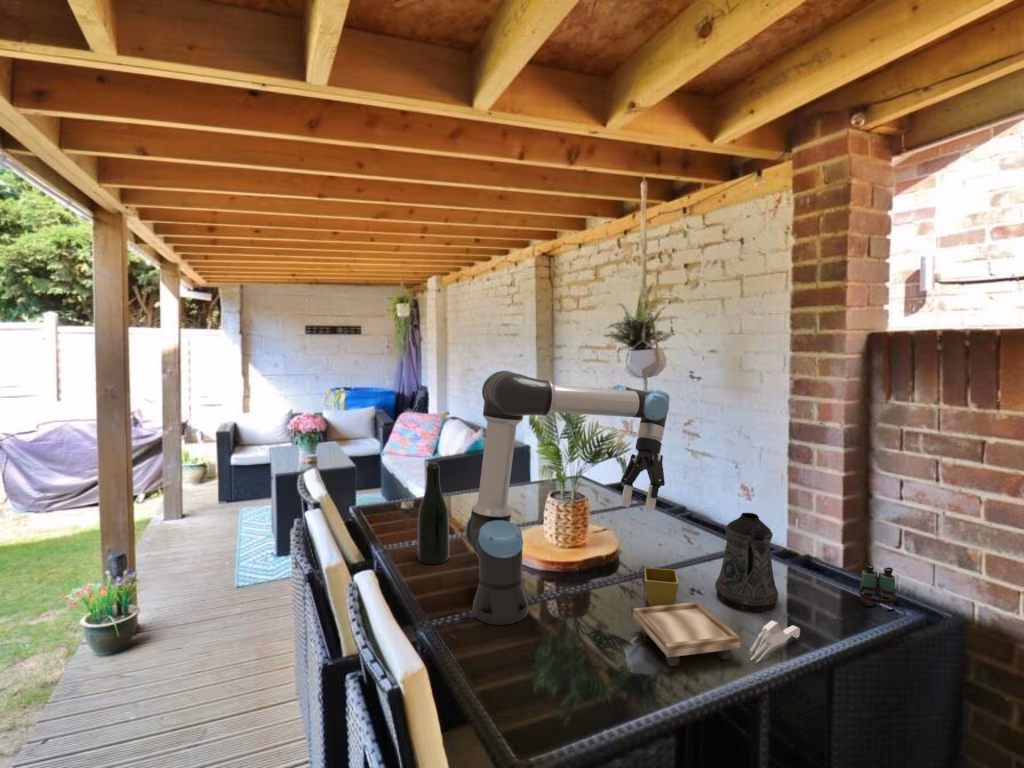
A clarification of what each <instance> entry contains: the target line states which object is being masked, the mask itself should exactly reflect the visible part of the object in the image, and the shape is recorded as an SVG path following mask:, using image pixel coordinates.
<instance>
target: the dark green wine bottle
mask: <svg viewBox="0 0 1024 768" xmlns="http://www.w3.org/2000/svg"><path fill="white" fill-rule="evenodd" d="M425 470H426V483H425V484H426V486H425V490H424V493H423V497H422V500H421V503H420V504H419V505H420V506H419V509H418V517H417V559H418V561H419V562H421V563H423V564H426V565H439V564H442V563H445V562H446V561H448V559H449V558H450V524H449V523H450V522H449V521H450V520H449V519H450V518H449V511H448V510H449V509H448V507H447V502H446V501H445V498H444V496H443V492H442V489H441V482H440V481H441V480H440V476H441V475H440V470H441V468H440V465H439V462H438V461H429V462H428V463H427V466H426V469H425Z"/></svg>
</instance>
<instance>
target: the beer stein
mask: <svg viewBox="0 0 1024 768" xmlns="http://www.w3.org/2000/svg"><path fill="white" fill-rule="evenodd" d="M724 530H725V535H726V542H725V543H726V545H725V547H724V553H723V554H724V555H723V560H722V564H721V569H720V572H719V575H718V578H717V579H716V581H715V585H714V587H715V590H716V591H715V592H716V597H717V599H718V600H719V601H720V603H722V604H723V605H725V606H726V607H728V608H731V609H734V610H736V611H740V612H745V613H750V612H752V614H764V613H768V612H767V611H769V612H772V611H773V610H774V609H775V608H776V606H777V602H778V599H779V592H778V588H777V586H776V583H775V576H774V572H773V571H774V570H773V563H772V553H771V547H770V546H771V545H770V544H771V542H772V538H773V532H772V531H771V529H770V527H768V525H767V524H765V523H764V522H763V521H762V520H761V519H760V517H759V515H758V514H756V513H753V512H742V513H741V515H740V516H738V518H736V519H733V520H731V521H730V522H728V523H727V524H726V526H725V528H724ZM772 609H773V610H772ZM771 610H772V611H771ZM763 612H764V613H763Z"/></svg>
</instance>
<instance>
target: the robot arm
mask: <svg viewBox="0 0 1024 768" xmlns="http://www.w3.org/2000/svg"><path fill="white" fill-rule="evenodd" d="M481 395H482V396H481V397H482V399H483V411H482V417H483V418H484V419H485V420H486V431H485V438H484V448H483V455H482V456H483V457H482V465H481V472H480V481H479V491H478V496H477V497H478V498H477V502H476V503H475V504H474V505H472V507H471V513H470V517H469V518H468V520H467V522H466V524H465V525H466V526H465V535H466V540H467V542H468V544H469V546H470V547H471V548H472V550H473V552H474V553H475V555H476V556H477V558H478V563H479V564H478V566H479V567H478V570H479V571H478V575H479V576H478V578H479V581H478V586H477V589H476V593H475V595H474V598H473V602H472V614H473V616H474V618H475V619H477V620H478V621H480V622H482V623H484V624H489V625H494V626H495V625H496V626H500V625H501V626H503V625H504V626H505V625H513V624H515V622H516V623H518V622H521V621H523V620H524V619H525V618H526V617H527V616H528V615H527V614H529V601H528V598H527V595H526V591H525V589H524V584H523V546H524V538H523V533H522V529H521V528H520V527H519V526H518V524H515V523H514V522H511V517H512V510H511V509H510V507H508V501H509V492H510V485H511V484H510V483H511V474H512V467H513V466H512V465H513V459H514V449H515V443H516V441H515V440H516V435H517V425H518V424H520V423H521V422H522V421H523V418H524V416H542V417H543V416H545V417H546V416H549V415H550V413H559V414H560V413H561V414H572V415H573V414H575V415H592V416H607V417H608V416H610V417H622V418H623V417H624V418H640V423H639V425H638V426H639V427H638V431H637V436H638V437H637V438H636V443H635V450H636V451H637V455H636V454H633V453H632V454H631V455H630V459H629V461H628V464H627V466H626V468H625V470H624V473H623V474H622V476H621V479H620V483H622V484H623V490H622V496H621V501H620V506H622V507H625V508H630V504H631V499H632V495H633V488H634V486H633V484H634V483H635V481H636V480H637V479H638V477H639V476H640V474H641V473H642V472H644V471H645V470H646V473H647V475H648V478H649V482H650V483H649V486H648V490H647V496H646V502H645V506H644V508H645V509H647V510H650V511H655V509H656V503H657V499H658V495H659V489H661V487H664V486H665V485H666V482H665V473H664V466H663V465H664V464H663V458H664V455H663V454H661V449H662V446H663V445H662V444H663V443H662V441H663V438H664V432H665V428H666V427H665V426H666V422H667V417H668V416H667V415H668V412H669V410H670V395H669V393H667V392H666V391H664V390H658V389H648V390H646V391H645V390H640V389H637V388H636V389H635V388H630V387H628V386H626V385H621V384H615V385H614V386H613V387H612V388H600V387H588V386H578V385H577V386H575V385H565V384H564V385H563V384H562V385H561V384H560V385H559V384H553V383H552V382H551V381H550V380H548V379H546V380H545V379H538V378H534V377H530V376H527V375H524V374H520V373H516V372H513V371H509V370H501V371H500V370H499V371H496V372H494V373H492V374H490V375H489V376H488V377H486V379H485V381H484V382H483V384H482V388H481Z"/></svg>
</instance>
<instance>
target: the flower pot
mask: <svg viewBox="0 0 1024 768" xmlns="http://www.w3.org/2000/svg"><path fill="white" fill-rule="evenodd" d="M643 570H644V584H645V597H646V601H647V604H648V607H652V606H662V605H671V604H676V601H677V595H678V589H679V579H678V573H677V571H676V570H675V569H668V568H657V567H644V569H643Z"/></svg>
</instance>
